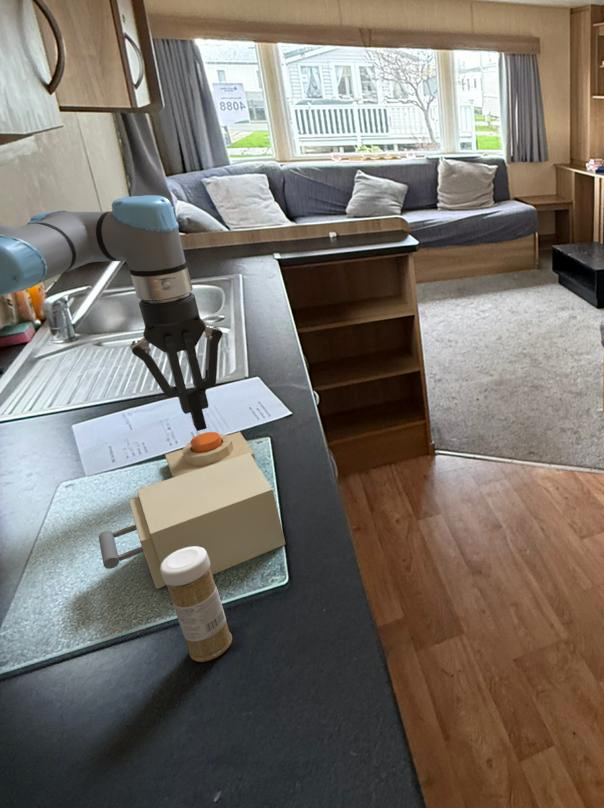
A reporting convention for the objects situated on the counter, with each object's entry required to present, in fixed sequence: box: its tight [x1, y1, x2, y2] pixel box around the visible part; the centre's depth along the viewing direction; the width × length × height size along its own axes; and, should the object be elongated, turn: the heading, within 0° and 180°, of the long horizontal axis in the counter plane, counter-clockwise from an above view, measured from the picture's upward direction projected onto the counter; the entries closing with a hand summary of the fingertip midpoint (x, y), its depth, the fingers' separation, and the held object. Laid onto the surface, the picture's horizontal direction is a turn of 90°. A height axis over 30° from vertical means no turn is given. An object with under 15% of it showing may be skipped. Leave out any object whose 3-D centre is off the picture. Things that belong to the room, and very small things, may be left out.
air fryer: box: [136, 453, 286, 591], centre depth 93 cm, size 15×13×10 cm
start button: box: [190, 431, 222, 453], centre depth 112 cm, size 4×4×2 cm
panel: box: [164, 431, 258, 478], centre depth 113 cm, size 12×10×4 cm
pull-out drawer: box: [98, 496, 167, 590], centre depth 90 cm, size 18×11×8 cm, turn 130°
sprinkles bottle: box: [160, 546, 233, 663], centre depth 75 cm, size 5×5×13 cm
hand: (200, 426), depth 111 cm, fingers closed
